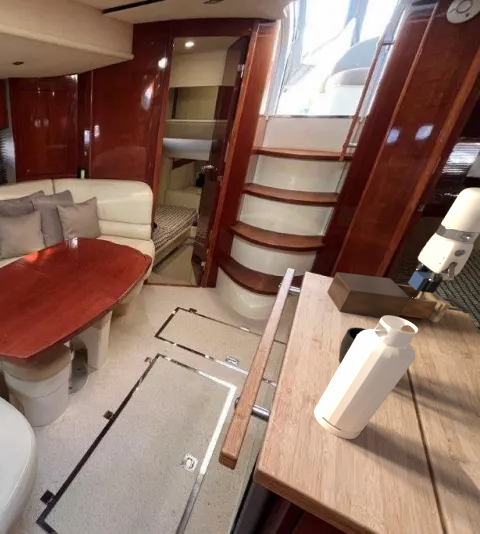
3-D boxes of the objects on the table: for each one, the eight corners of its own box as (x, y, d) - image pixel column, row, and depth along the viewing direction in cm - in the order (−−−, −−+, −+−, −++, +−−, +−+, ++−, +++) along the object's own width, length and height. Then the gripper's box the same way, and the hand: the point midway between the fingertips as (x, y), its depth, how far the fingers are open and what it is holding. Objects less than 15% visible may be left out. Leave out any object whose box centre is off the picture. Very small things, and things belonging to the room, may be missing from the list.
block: (425, 285, 96) (433, 273, 93) (434, 292, 92) (442, 280, 90) (407, 282, 97) (415, 271, 95) (415, 290, 93) (423, 278, 91)
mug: (348, 385, 75) (365, 358, 71) (327, 351, 85) (341, 325, 81) (387, 392, 73) (408, 364, 69) (361, 356, 83) (378, 329, 79)
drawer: (443, 306, 100) (455, 289, 96) (466, 327, 91) (480, 309, 88) (366, 296, 106) (375, 279, 102) (381, 314, 97) (392, 297, 94)
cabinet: (378, 299, 105) (390, 278, 101) (396, 320, 96) (410, 298, 92) (327, 292, 110) (336, 271, 105) (339, 311, 100) (350, 290, 96)
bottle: (367, 443, 63) (445, 343, 49) (322, 433, 65) (385, 335, 51) (348, 409, 70) (412, 313, 56) (308, 401, 72) (360, 307, 58)
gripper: (498, 247, 77) (455, 305, 86) (452, 223, 91) (419, 275, 100) (460, 244, 79) (422, 300, 89) (421, 221, 93) (391, 272, 102)
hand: (421, 286), depth 94 cm, fingers closed on block, 4 cm apart
